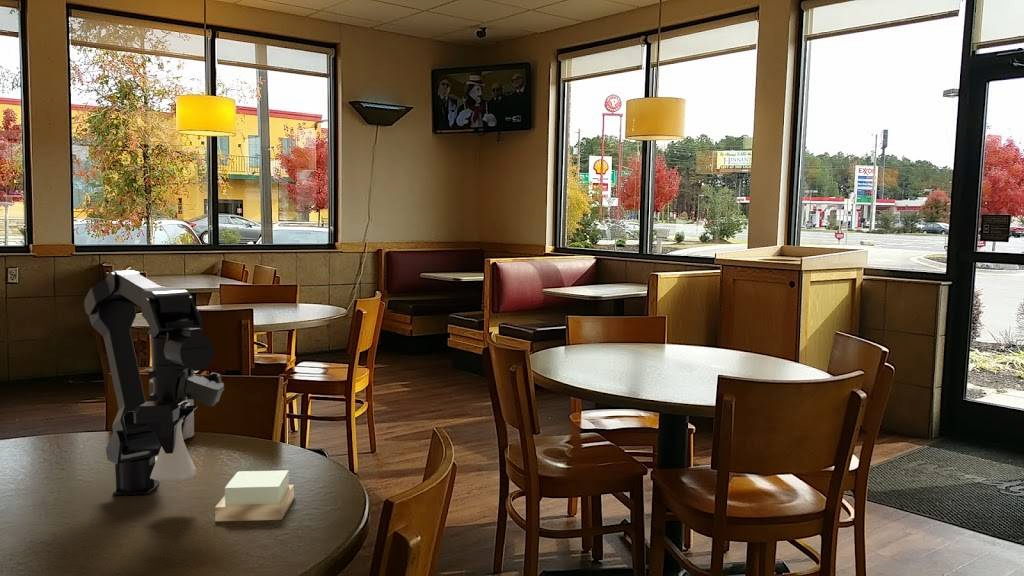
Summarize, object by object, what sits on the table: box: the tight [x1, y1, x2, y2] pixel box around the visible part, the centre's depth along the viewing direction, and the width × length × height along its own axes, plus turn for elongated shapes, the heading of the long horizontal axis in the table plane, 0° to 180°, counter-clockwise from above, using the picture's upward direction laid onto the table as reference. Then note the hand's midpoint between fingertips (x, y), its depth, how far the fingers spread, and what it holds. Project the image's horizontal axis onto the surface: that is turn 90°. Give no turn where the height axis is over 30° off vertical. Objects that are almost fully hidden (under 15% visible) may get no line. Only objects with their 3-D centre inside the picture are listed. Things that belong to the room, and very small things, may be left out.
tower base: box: [214, 484, 295, 522], centre depth 143 cm, size 11×11×3 cm
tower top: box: [224, 469, 290, 505], centre depth 143 cm, size 9×9×3 cm
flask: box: [150, 419, 198, 482], centre depth 141 cm, size 7×7×10 cm
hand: (173, 451), depth 142 cm, fingers closed on flask, 3 cm apart
